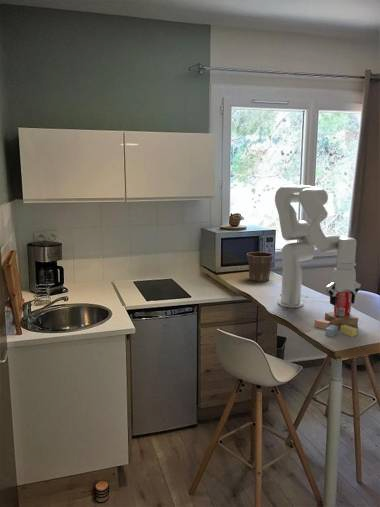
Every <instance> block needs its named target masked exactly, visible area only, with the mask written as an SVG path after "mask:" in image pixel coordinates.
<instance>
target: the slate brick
mask: <svg viewBox="0 0 380 507" xmlns="http://www.w3.org/2000/svg"><path fill="white" fill-rule="evenodd" d="M324 330H325V331H324V332H325V333H324V335H325V336H328V337H332V338H333V337H334V336H335V335H337V334H338V333H339V329H338V326H335V325H330V326H329V327H327V328H326V329H324Z"/></svg>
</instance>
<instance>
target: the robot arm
mask: <svg viewBox="0 0 380 507" xmlns="http://www.w3.org/2000/svg"><path fill="white" fill-rule="evenodd" d="M328 200H329V195H328V193H327V191H326V190H325V189H324V188H322V187H317V186H312V185H305V184H287V185H282V186H280V187H279V188H278V189H277V190H276V193H275V195H274V204H275V207H276V210H277V214H278V220H279V226H280V232H281V233H280V234H281V236H282V239H284V240H285V241H296V242H289V243H287V244H285V245H284V246H283V247H282V248H281V251H280V252H281V253H280V254H281V260H282V276H281V280H282V281H281V293H280V294H279V296H280V299H278V301H277V304H278V305H279V306H280V307H283V308H291V309H295V308H296V309H297V308H298V309H299V308H301V307H304V302H303V301H302V300H301V297H302V295H301V294H302V280H303V279H302V278H303V269H302V266H301V264H300V262H305V261H309V260H312V259H313V258H314V257H315V254H316V250H318V252H320V253H322V254H323V253H334V252H336V265H335V268H334V269H333V271H332V275H331V280H330V283H329V284H328V285H326V286H325V289H326V292H327V294H328V295H329V304H331V306H334V305H335V304H336V297H335V295H336V294H337V293H338V292H343V291H350V290H351V293H352V299H351V305H352V304H355V299H356V295H357V293H358V292H359V291H360V288H361V286H362V284H361V283H359V282H357V275H356V269H355V266H357V263H356V252H357V239H355V238H354V237H349V236H345V235H341V234H327V235H325V233H324V231H323V230H322V228H321V223H322V222H323V221H325V219H327V217H328V215H329V214H328V211H327V209H326V208H325V206H324V205H326V204H327V203H328ZM291 203H300V206H301V207H302V209H303V210H304V212H305V214H306V216H307V218H308V219H309V222H310V223H309V222H308V221H305V220H298V218H297V212H296V210H295V208H294V207H293V206H292V204H291ZM297 241H298V242H297ZM315 248H316V249H315Z"/></svg>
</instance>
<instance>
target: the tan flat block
mask: <svg viewBox="0 0 380 507" xmlns="http://www.w3.org/2000/svg"><path fill="white" fill-rule="evenodd" d="M324 320H326V321H330V322H331V325H335V326H338V330H340V328H341V326H342V325H348V326H351V327H353V328H358V324H359V317H356V316H355V315H353V314H351V313H350V315H349V316H347V317H339V316H337V315H336V314H334V311H332V312H325V313H324Z"/></svg>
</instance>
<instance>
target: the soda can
mask: <svg viewBox="0 0 380 507" xmlns="http://www.w3.org/2000/svg"><path fill="white" fill-rule="evenodd" d="M335 297H336V304H335V305H333V312H334V314H336V315H337V316H339V317H347V316H349V315H350V314H351V309H352V303H351V299H352V293H351V290H350V291H343V292H338V293H337V294H336V295H335Z"/></svg>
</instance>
